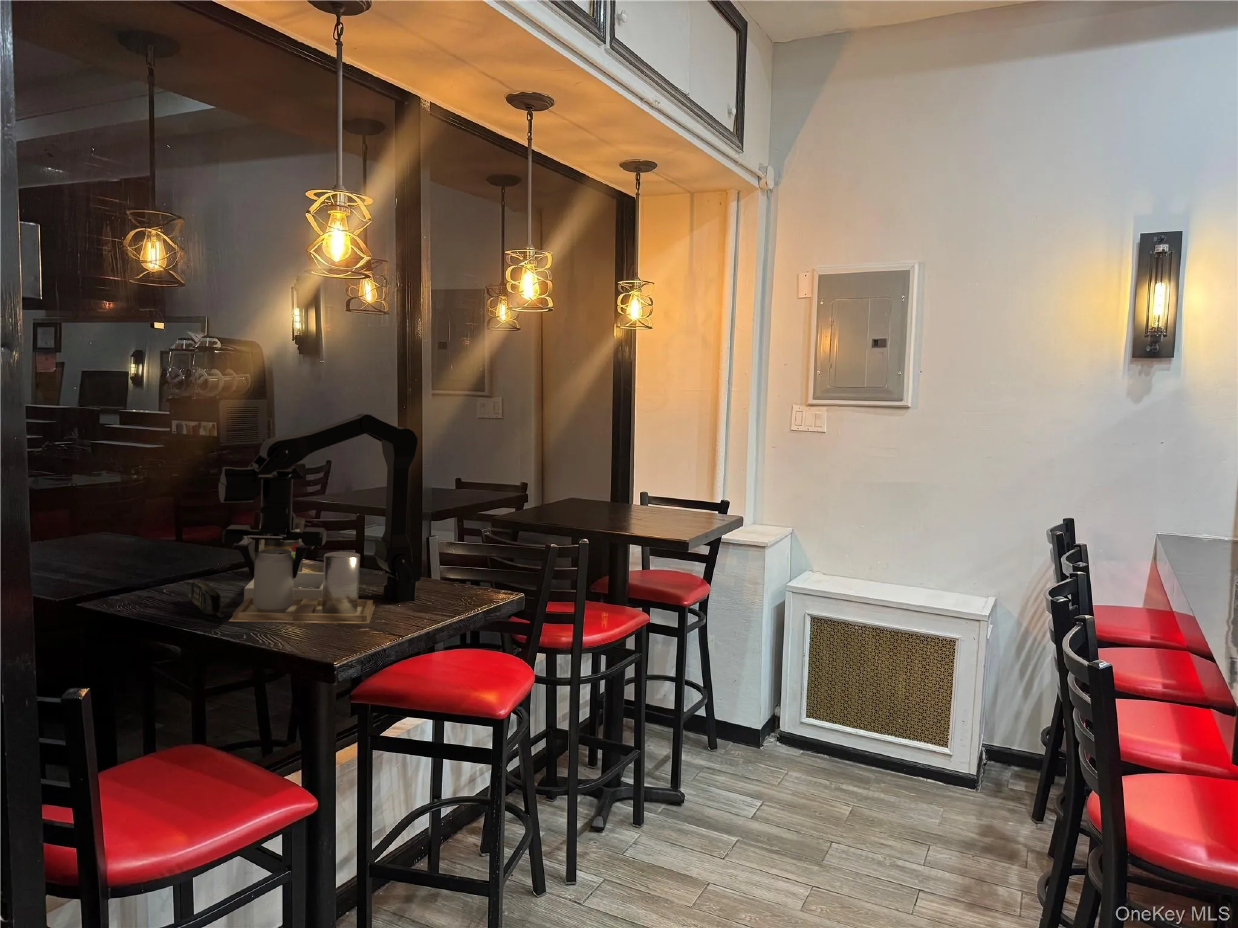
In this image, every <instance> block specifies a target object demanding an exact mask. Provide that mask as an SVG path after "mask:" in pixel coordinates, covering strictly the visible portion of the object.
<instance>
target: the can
mask: <svg viewBox="0 0 1238 928" xmlns="http://www.w3.org/2000/svg"><path fill="white" fill-rule="evenodd" d="M257 552H258V555H257V556H255V560H254V578H253V579H254V592H253V606H254V607H255V608H256V609H257V610H258V611H260V612H266V613H276V612H283V611H286V610H288V609H289V608H290V607H291V606H292V605H293V598H294V588H295V587H294V578H293V569H294V560H295V558H294V557H293V556H292V555H291V553H292V551H291V550H288V549H282V548H270V549H263V550H260V551H259V550H258V551H257Z"/></svg>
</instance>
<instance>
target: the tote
mask: <svg viewBox="0 0 1238 928" xmlns="http://www.w3.org/2000/svg"><path fill="white" fill-rule="evenodd" d="M253 592H254V578H253V579H252V580H251V581H250V582H249V583H248V584H247V585H246V586H245V587H244V590H243V602H244V601H245V600H246V599H247V598H248V597H253ZM322 592H323V572H315V571H313V572H309V571H308V572H307V571H302V572H298V574H297V577H296V578H294V598H311V599H322Z"/></svg>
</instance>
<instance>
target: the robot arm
mask: <svg viewBox="0 0 1238 928" xmlns="http://www.w3.org/2000/svg"><path fill="white" fill-rule="evenodd" d="M362 435H368V436H369V437H371V438H372V439H374V440H375V441H378V442H381V448H382V456H383V458H384V461H385V464H386V469H387V470H386V472H387V473H386V476H387V477H386V492H385V493H386V494H385V495H386V496H385V497H386V498H385V518H384V519H385V520H384V523H385V524H384V531H383V534H382V536H381V537H380V538H374V547H375V549H374V553H373V557H374V558H376V562H377V564H378V565H379V566H380V567H381V568H382V570H383V573H384V575H386V576H387V578H386V581H385V582H384V584H383V593H382V594H383V597H382V598H383V599H382V600H383V601H389V602H395V603H408V602H415V601H416V596H417V593H416V592H417V582H420V580H421V578H422V576H423V571H422V569H420V568H419V567H418V566H417V565H416V564H415V563H414V562H413V561H414V560H413V553H412V552H413V551H412V546H411V543H410V539H409V537H408V533H407V526H408V523H407V521H408V501H409V500H408V499H409V481H410V480H409V478H410V468H411V465H412V464H413V462H414V459H415V457H416V454H417V450H418V443H419V439H418V436H417V434H416V433H415V431H413V430H412V429H410V428H405V427H401V426H398V425H396V426H395V425H392V424H390V423H388V422H386V421H382V420H380V419H379V418H377V417H375V416H374V415H373V414H368V413H364V412H362V413H358V414H356V415H355V416H352V417H349V418H346V419H342V420H340V421H337V422H334V423H332V424H329V425H325V426H323V427H320V428H317V429H313V430H311V431H307V432H304V433H299V434H289V435H281V436H276V437H270V438H267V439H265V440H264V441H263V442H262V444H261V446H260V450H259V454H258V455H257V456H256V457H255V459H254V460H253V461H252V462H251V463H250V464H249V465H248V467H231V466H227V467H226V466H223V467H222V468H221V469H222V471H221V472H222V473H221V474H220V479H219V482H218V497H219V501H220V502H221V503H222V504H223V503H253V502H254V501H255V499H258V498H259V497H260V495H261V497H260V509H259V512H258V514H259V515H258V523H259V529H251V525H249V524H247V525H245V524H231V525H229V526H228V527H227V528H225V529H223V531H222V534H221V543H222V544H232V548H234V549H237V550H238V551H239V552H240V555H241V557H242V558H243V560H244V562H245V563H246V567H247V568H248V569H247V570H248V572H249V574H250V576H251V578H253V579H254V560H255V558H256V556H255V545H256V540H292V541H299V543H300V544H299V545H298V546H297V547H296V552H295V560H294V569H293V578H296V577H297V574H298V571H299V569H300V566H301V563H302V561H304V558H305V556H306V554H307V552H308V551H312V550H313V549H314V548H315V547H322V546H323V545H325V543H326V542H327V530H326V529H325V528H324V527H310V526H309V527H304V530H303V532H300V531H293V530H295V521H296V517H297V515H296V514H295V513H294V512H293V490H294V489H293V488H294V487H293V486H294V484H293V483H294V480H304V478H305V475H303V474H302V473H301V472H300V471H299V470H298V468H297V467H295V466H294V465H296V464H298V463H300V462H301V461H303V460H305V459H306V458H307V457H308V456H310V455H312V454H313V453H315V452H317V451H319V450H323V449H326V448H329V447H331V446H334V445H337V444H340V443H343V442H346V441H348V440H351V439H354V438H357V437H359V436H362ZM286 469H287V470H286ZM260 524H261V526H260ZM265 534H268V535H265ZM271 535H272V536H271ZM279 535H280V536H279ZM281 535H282V536H281ZM283 535H284V536H283Z"/></svg>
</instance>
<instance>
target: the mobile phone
mask: <svg viewBox="0 0 1238 928" xmlns="http://www.w3.org/2000/svg"><path fill="white" fill-rule="evenodd" d="M190 589H191V590H190V592H191V593H190V594H191V595H190V601H191V603H193V604H194V605H195V606H196V607H197V608H199V609H200V610H201V612H202V613H203V614H205V615H215V616H218V617H219V618H221V619H222V618H224V614H222V612H221V608H222V597H221V594H220V593H219V591H218V590H217V589H216V588H214V587H213V586H211V585H210V584H209V583H208V582H206V581H192V582H191V587H190Z"/></svg>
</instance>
